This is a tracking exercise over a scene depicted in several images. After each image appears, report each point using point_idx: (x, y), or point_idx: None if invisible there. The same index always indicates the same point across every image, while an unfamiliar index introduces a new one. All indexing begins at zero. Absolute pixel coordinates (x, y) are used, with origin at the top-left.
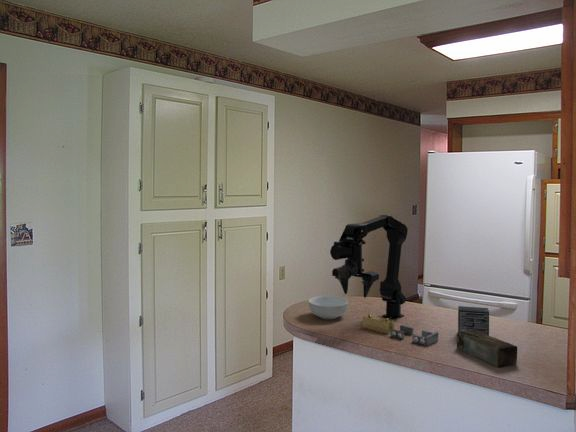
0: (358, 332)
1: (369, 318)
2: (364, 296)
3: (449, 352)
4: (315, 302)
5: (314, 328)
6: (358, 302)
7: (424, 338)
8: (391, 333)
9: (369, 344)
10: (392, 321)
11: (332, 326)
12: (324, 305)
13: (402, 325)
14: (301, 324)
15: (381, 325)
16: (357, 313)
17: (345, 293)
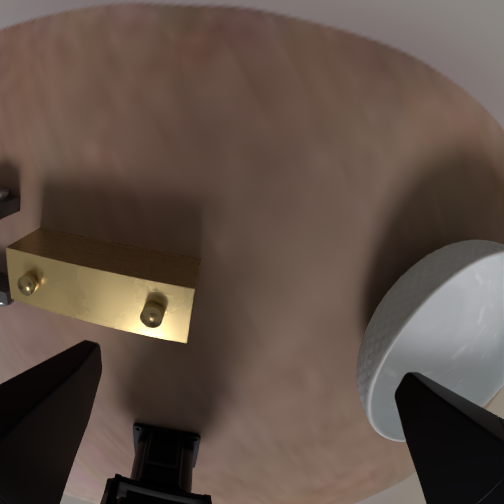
0: (176, 148)
1: (135, 275)
2: (81, 346)
3: None
4: (502, 349)
5: (427, 100)
6: (348, 482)
7: None
8: (3, 191)
9: (60, 25)
10: (9, 282)
11: (365, 175)
12: (462, 373)
13: (2, 300)
14: (489, 140)
15: (61, 247)
16: (317, 418)
17: (409, 376)
